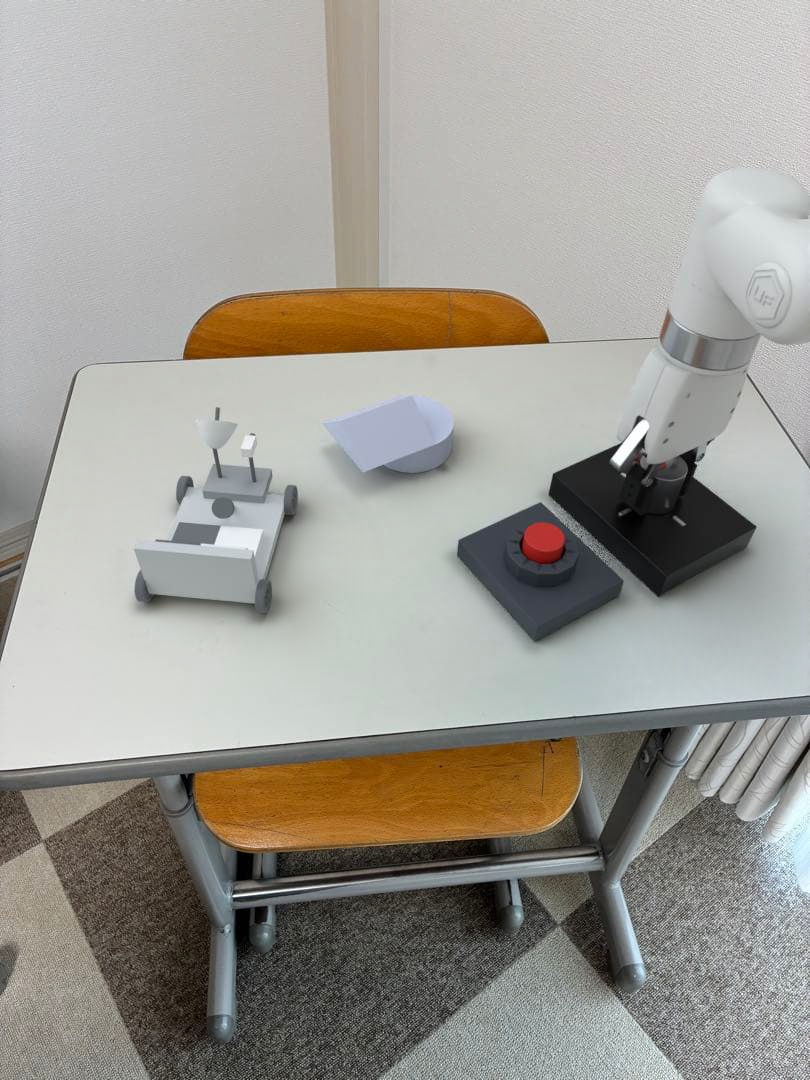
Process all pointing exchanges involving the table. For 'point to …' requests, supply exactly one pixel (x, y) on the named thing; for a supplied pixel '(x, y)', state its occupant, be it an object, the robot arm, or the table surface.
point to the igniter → (538, 573)
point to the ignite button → (543, 543)
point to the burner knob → (667, 484)
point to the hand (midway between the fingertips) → (653, 494)
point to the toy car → (218, 531)
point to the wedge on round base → (396, 434)
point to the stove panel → (651, 524)
